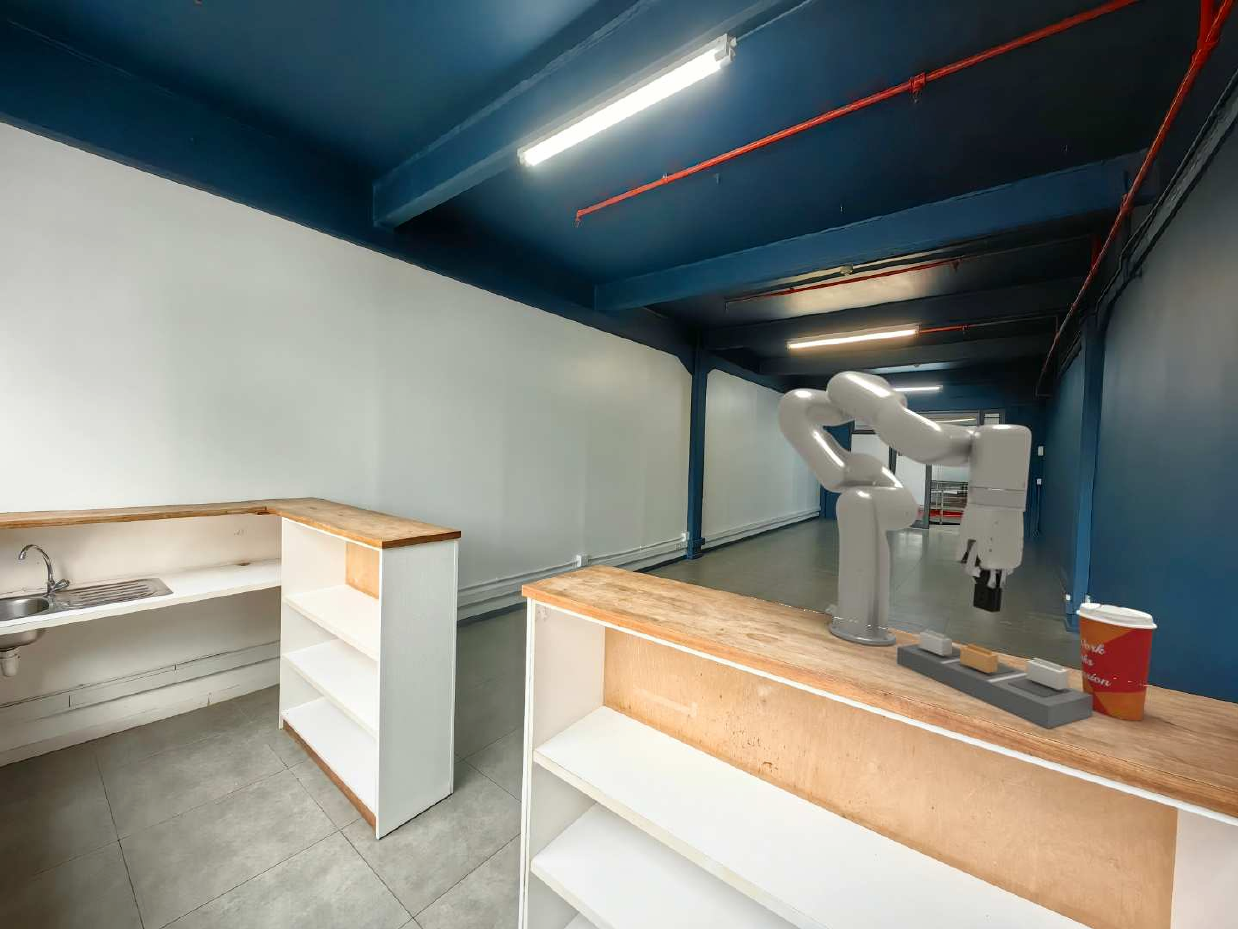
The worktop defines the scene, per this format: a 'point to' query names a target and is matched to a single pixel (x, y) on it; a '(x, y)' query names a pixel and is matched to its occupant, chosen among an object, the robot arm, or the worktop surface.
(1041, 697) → the switch panel
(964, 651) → the switch
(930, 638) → the switch
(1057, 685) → the switch
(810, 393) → the robot arm
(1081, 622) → the coffee cup
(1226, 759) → the worktop surface
